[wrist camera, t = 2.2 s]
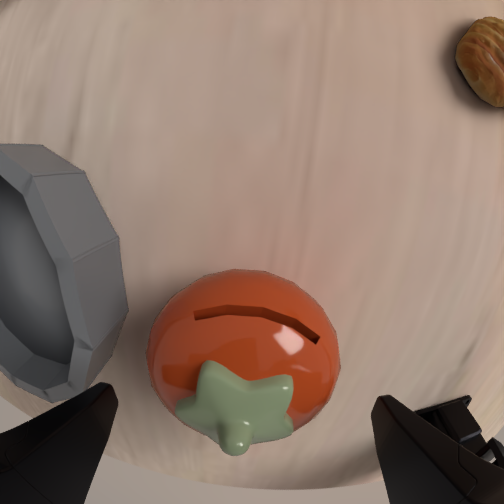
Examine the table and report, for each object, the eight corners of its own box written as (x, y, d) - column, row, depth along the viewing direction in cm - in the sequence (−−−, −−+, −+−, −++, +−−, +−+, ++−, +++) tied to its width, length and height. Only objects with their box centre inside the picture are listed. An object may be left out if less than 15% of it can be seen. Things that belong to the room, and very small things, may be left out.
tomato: (340, 264, 13) (422, 371, 5) (296, 382, 15) (311, 502, 7) (186, 229, 12) (88, 306, 5) (170, 356, 14) (119, 469, 7)
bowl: (146, 384, 15) (124, 428, 11) (6, 343, 16) (-19, 365, 12) (117, 127, 11) (68, 114, 7) (-26, 169, 12) (-62, 174, 8)
